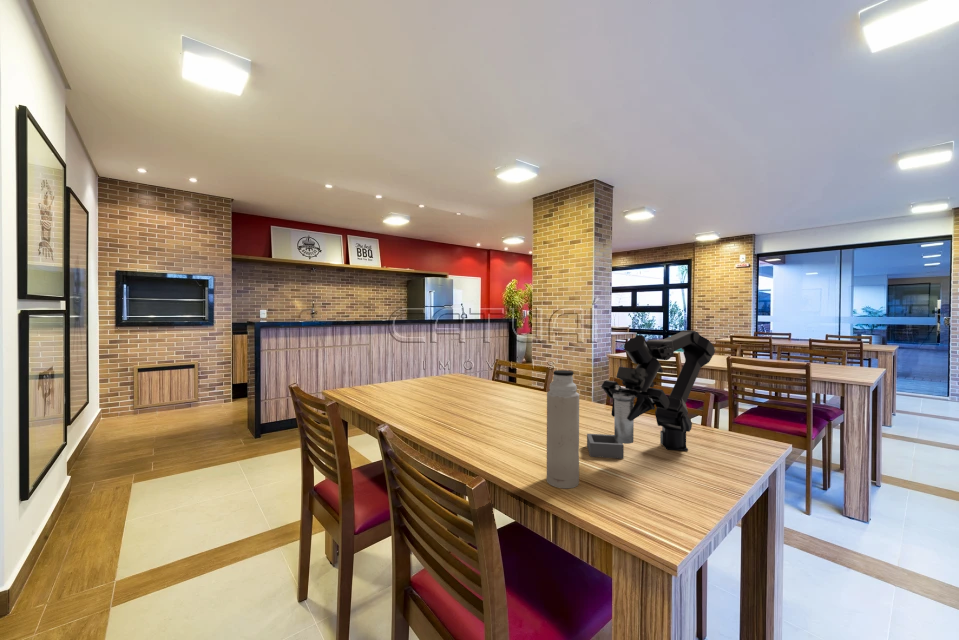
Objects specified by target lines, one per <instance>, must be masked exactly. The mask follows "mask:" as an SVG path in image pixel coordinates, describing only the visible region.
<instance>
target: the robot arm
mask: <svg viewBox="0 0 959 640" xmlns="http://www.w3.org/2000/svg"><path fill="white" fill-rule="evenodd" d="M623 348H624V350H625V352H626V353H627V355H628V357H629V358H630V360H631V361H632V362H633V364H636V367H635V368H632V367H625V366H619V367H618V369H617V373H616V375H615V376H616V377H615V378H616V379H619V380H621V381H622V382H621V384H622V385H623V386H625V387H622V386H620V385H619V384H618V381H613V380H609V379H608V380H604V381H603V382H602V383H601V386H600V387H601V388H602V390H603V391H604V392H605V394H606V395H607V397H609V398H611V399H612V405H611V406H612V407H611V412H610V413H611V416H612V417H613V418H614V398H613V393H617V392H624V393H631V394H634V395H635V398H636V400H635V401H636V402H634V407H633V409H632V411H631V413H630V415H629V417H628V420H629V421H632V420H634V421H635V419H636V418H638V417H641V416H642V415H643V414H646V413H647V412H649V411H652V410H655V419H656V424H657V426H659V427H661V428H662V429H661V430H660V434H659V435H660V437H659V438H660V442H659V443H660V444H661V445H662V447H664V449H665V450H667V451H668V450H669V451H671V450H672V451H689V448H688V447H687V433H689V432H691V430H692V427H693V422H692V421H691V419H690V417H689V416H688V415H689V414H688V413H689V411H688V407H687V404H686V403H687V401H688V398H689V396H690V395H691V394H690V393H691V391H692V389H693V386H694V384H695V382H696V379H697V377H698V375H699V373H700V370H701V368H702V367H704V366H705V365H708V364H709V363H710V362H711V360H712V358H713V357H714V355H715V352H716V348H715V346H714V344H712V342H711V340H709V339H708V338H706V337H704V336H702V335H701V334H700V333H699V332H698V331H696V330H684V329H683V330H681V331H680V332H677V333H676V334H673V335H671V336H668V337H666V338H664V339H648V340H646V338H645V336H644V335H642V334H641V335H640V334H636V335H635V337H633V338H630V339H629V340H627V341H626V342H625V343H624V346H623ZM680 349H681V350H682V351H683V356H684V359H685V360H684V363H683V364H682V368H681V369H680V372H679V374H678V375H677V378H676V381H675V383H674V385H673V388H672V390H671V392H670V394H669V395H668V396H667V395H666V393H665V392H664V390H663V389H661V388H654V387H655V384H654V380H655V378H656V376H657V374H659V373H660V374H663V373H664V370H663V367H662V364H661V363H660V362H659V361H669V359H671V358H673V356H674V355H675V352H676V351H678V350H680Z"/></svg>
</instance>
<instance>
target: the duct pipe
mask: <svg viewBox="0 0 959 640" xmlns="http://www.w3.org/2000/svg"><path fill="white" fill-rule="evenodd" d="M613 398H614V417H613V419H614V431H613V432H614V434H613V435H614V440H615V441H616V442H619V443H623V445H630V444H633V443H634V440H635V439H634V436H635V435H634V421H635V419H634V420H632V421H629V420H628V417H629V415H630V413H631V411H632V409H633V407H634V405H635V402H634V401H635V398H636V397H635V395H634V394H631V393H624V392H617V393H613ZM613 398H612V399H613Z"/></svg>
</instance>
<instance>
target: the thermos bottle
mask: <svg viewBox="0 0 959 640" xmlns="http://www.w3.org/2000/svg"><path fill="white" fill-rule="evenodd" d="M573 376H574V371H572V370H566V369H565V370H564V369H559V370H557V369H556V370H553V378H552V381H551V382H550V383H549V387H548V388H549V390H548V391H547V393H546V482H547V483H548V485H550V486H552V487H555V488H558V489H559V488H560V489H573V488H576V487H578V485H579V484H580V453H579V450H580V393H579V392H577V390H578V386H577V384H576V383H574V377H573Z"/></svg>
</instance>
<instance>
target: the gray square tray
mask: <svg viewBox="0 0 959 640" xmlns="http://www.w3.org/2000/svg"><path fill="white" fill-rule="evenodd" d="M624 446H625V444H624V443H619V442H616V441H615V440H614V434H601V433H586V447H587V451H588V453H589V454H588V455H589V456H590V457H591V458H592V457H593V458H609V459H622V460H623V459H624V458H625V457H624V453H625V452H624Z"/></svg>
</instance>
